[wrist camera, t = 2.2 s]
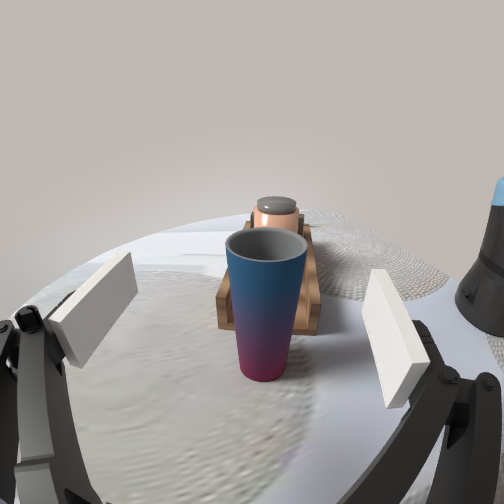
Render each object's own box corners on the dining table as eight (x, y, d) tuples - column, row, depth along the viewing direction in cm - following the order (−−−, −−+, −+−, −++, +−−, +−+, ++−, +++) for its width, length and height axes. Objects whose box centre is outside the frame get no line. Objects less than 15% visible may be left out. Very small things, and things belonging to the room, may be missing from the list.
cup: (299, 351, 32) (314, 233, 25) (282, 395, 26) (298, 268, 20) (245, 338, 34) (244, 223, 28) (221, 377, 29) (210, 252, 22)
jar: (275, 252, 53) (277, 193, 48) (303, 266, 48) (308, 203, 44) (245, 263, 50) (245, 200, 45) (272, 280, 45) (275, 211, 40)
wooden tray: (315, 335, 35) (323, 289, 31) (218, 328, 36) (214, 282, 33) (307, 247, 58) (310, 214, 55) (246, 244, 59) (246, 211, 56)
